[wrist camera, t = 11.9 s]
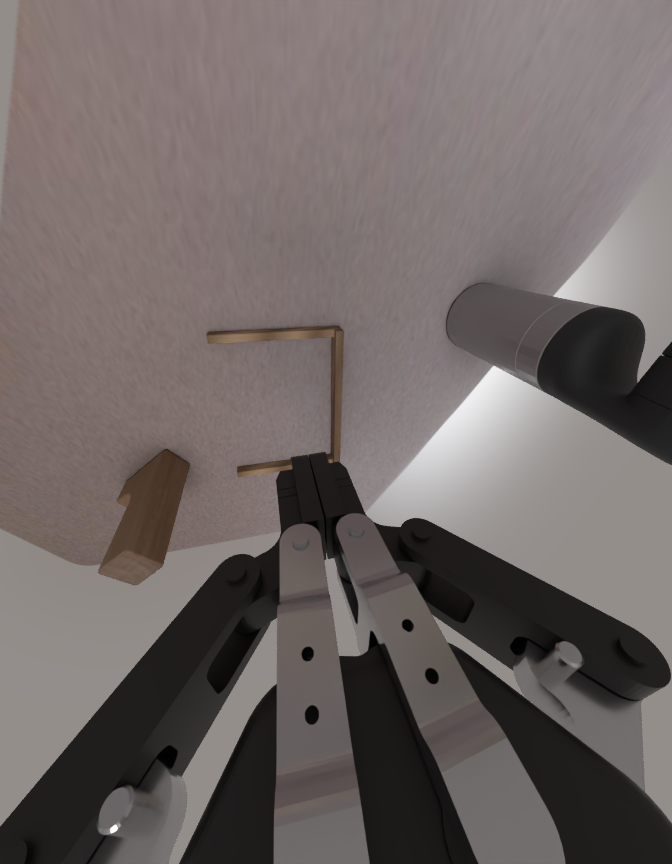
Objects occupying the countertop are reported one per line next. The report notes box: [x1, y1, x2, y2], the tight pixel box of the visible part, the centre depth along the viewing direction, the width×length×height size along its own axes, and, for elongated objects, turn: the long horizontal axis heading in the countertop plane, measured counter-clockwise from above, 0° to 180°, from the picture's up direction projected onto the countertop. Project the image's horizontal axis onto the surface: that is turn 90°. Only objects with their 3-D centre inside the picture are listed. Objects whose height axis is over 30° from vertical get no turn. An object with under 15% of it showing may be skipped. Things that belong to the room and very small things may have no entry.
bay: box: [206, 326, 344, 477], centre depth 44 cm, size 17×23×2 cm
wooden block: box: [98, 450, 189, 585], centre depth 39 cm, size 9×4×18 cm, turn 125°
